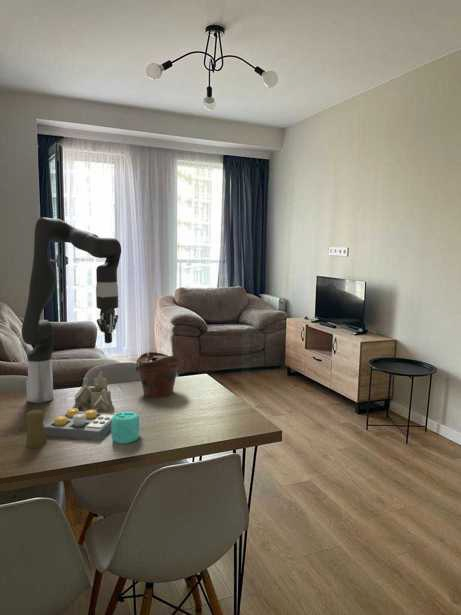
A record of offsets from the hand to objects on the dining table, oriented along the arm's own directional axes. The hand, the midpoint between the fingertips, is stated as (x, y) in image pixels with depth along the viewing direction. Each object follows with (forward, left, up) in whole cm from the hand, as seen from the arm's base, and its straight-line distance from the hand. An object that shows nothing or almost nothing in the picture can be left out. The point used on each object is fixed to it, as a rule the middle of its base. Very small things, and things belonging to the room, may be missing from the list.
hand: (108, 342), depth 161 cm
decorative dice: (+12, -14, -29) cm, 35 cm away
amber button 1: (-12, -13, -27) cm, 32 cm away
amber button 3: (-5, -5, -27) cm, 28 cm away
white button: (-5, -13, -26) cm, 29 cm away
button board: (-6, -9, -29) cm, 31 cm away
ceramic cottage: (-11, +7, -29) cm, 32 cm away
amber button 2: (-12, -5, -27) cm, 30 cm away
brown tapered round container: (+6, +35, -29) cm, 46 cm away
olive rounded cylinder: (-14, -24, -29) cm, 40 cm away
